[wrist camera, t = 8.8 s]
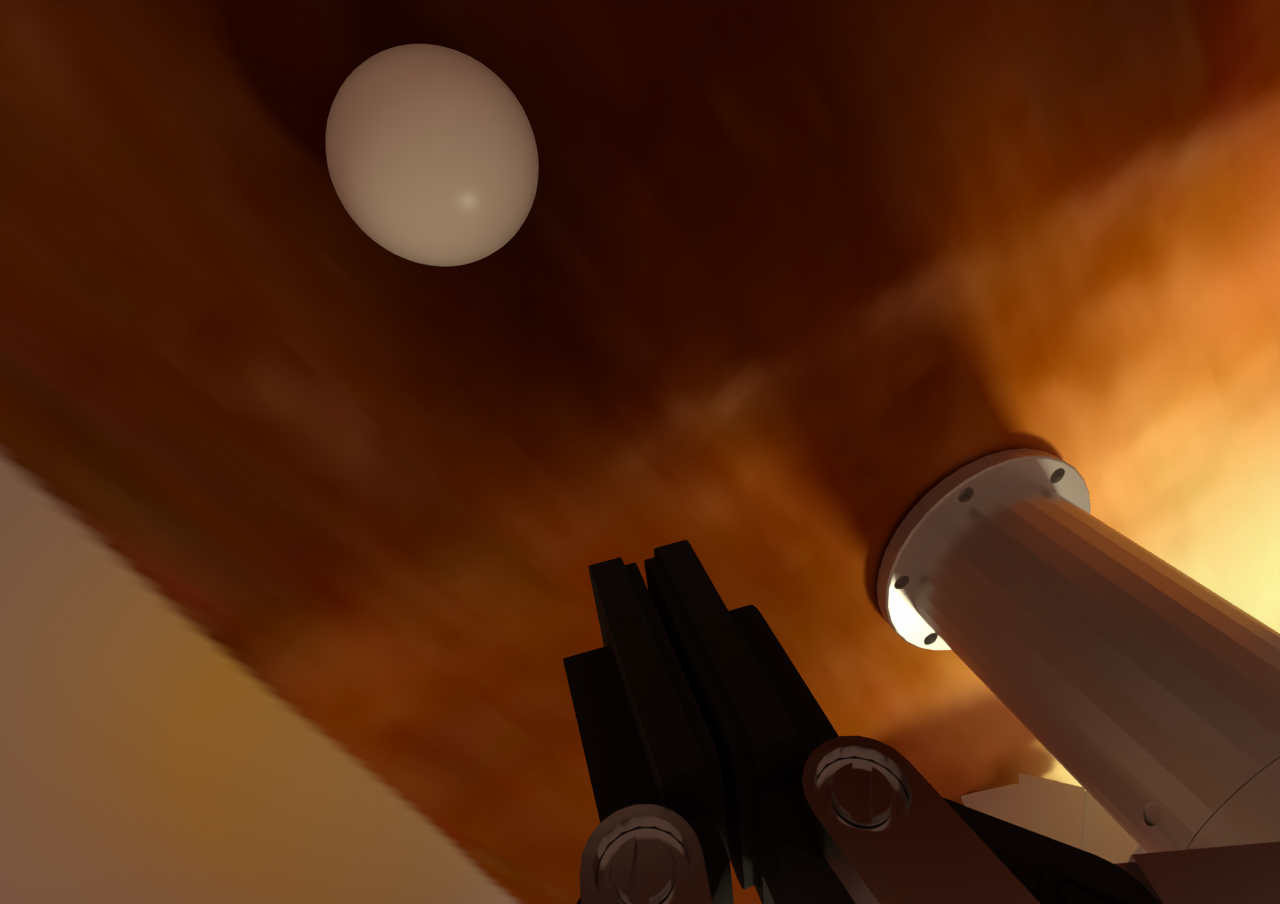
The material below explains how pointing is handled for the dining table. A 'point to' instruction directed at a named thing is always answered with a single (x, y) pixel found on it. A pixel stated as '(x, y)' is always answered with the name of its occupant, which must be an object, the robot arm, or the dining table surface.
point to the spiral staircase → (1057, 815)
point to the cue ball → (432, 155)
